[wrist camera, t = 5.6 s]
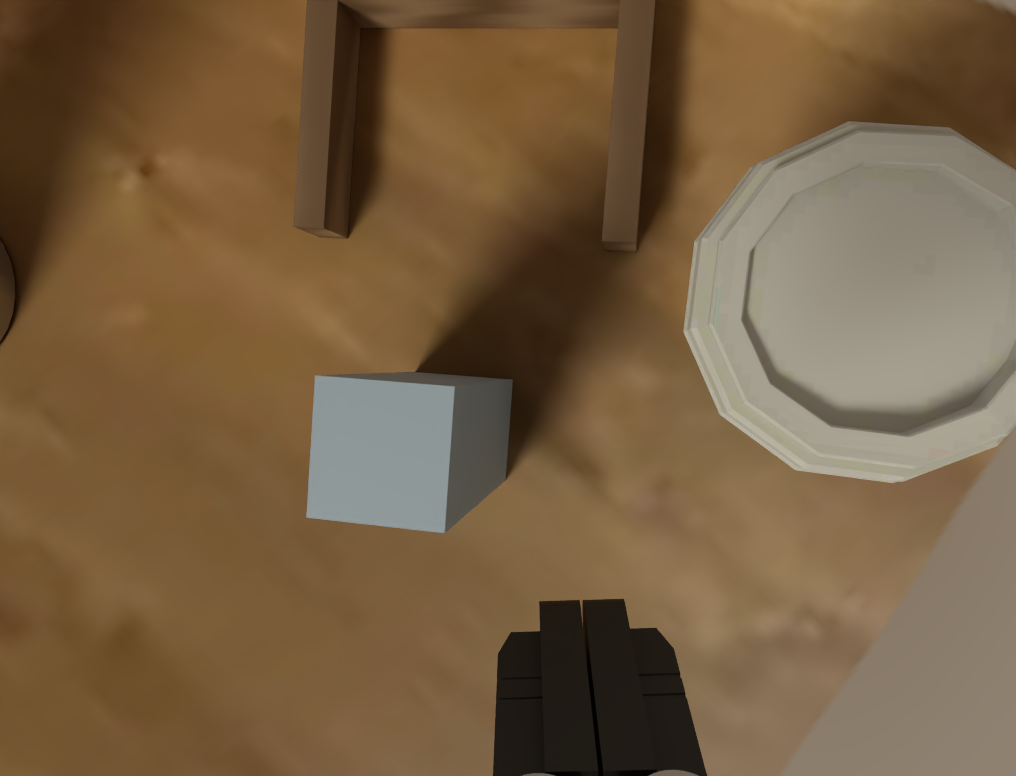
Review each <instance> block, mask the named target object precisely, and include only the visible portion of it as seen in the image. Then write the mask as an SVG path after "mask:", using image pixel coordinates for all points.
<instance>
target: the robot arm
mask: <svg viewBox="0 0 1016 776" xmlns="http://www.w3.org/2000/svg"><path fill="white" fill-rule="evenodd" d="M14 302H15V278H14V273H13V269H12V265H11V261H10V258H9V256H8V254H7V252H6V250H5V247H4V245H3V244H2V242H1V241H0V341H1V340H2V338H3V336H4V334H5V333H6V331H7V329H8V326H9V323H10V320H11V317H12V314H13V309H14ZM539 605H540V631H537V632H511V633H510V635H509V636H508V638H507V640H506V641H505V643H504V645H503V646H502V648H501V650H500V651H499V653H498V667H497V692H496V717H495V742H494V766H493V776H707V774H706V770H705V767H704V763H703V759H702V755H701V751H700V747H699V744H698V740H697V736H696V732H695V728H694V724H693V721H692V717H691V713H690V709H689V705H688V701H687V698H686V696H685V690H684V686H683V682H682V678H680V671H679V667H678V663H677V659H676V656H675V652H674V648H673V647H672V646H671V645H670V644H669V643H668V641H667V640H666V639H665V638H664V637H663V635H662V634H661V633H660V632H659V631H658V630H657V628H638V629H630V627H629V622H628V617H627V611H626V606H625V602H624V599H602V600H583V626H582V616H581V607H580V600H567V601H539Z"/></svg>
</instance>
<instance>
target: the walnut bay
mask: <svg viewBox="0 0 1016 776" xmlns="http://www.w3.org/2000/svg"><path fill="white" fill-rule="evenodd" d="M655 10H656V0H307V11H306V27H305V44H304V61H303V78H302V95H301V112H300V128H299V145H298V162H297V179H296V196H295V213H294V227H296V228H298V229H301V230H303V231H306V232H308V233H311V234H313V235H316V236H318V237H328V238H348V226H349V210H350V194H351V178H352V162H353V146H354V130H355V114H356V98H357V82H358V66H359V50H360V34H361V28H618V35H617V48H616V61H615V74H614V87H613V100H612V113H611V126H610V139H609V152H608V165H607V178H606V192H605V205H604V218H603V231H602V243H603V247H604V250H605V251H619V252H636V251H637V238H638V225H639V213H640V200H641V187H642V175H643V162H644V149H645V137H646V124H647V111H648V99H649V86H650V73H651V61H652V48H653V35H654V23H655Z"/></svg>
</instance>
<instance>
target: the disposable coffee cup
mask: <svg viewBox="0 0 1016 776" xmlns="http://www.w3.org/2000/svg"><path fill="white" fill-rule="evenodd" d="M683 332H684V334H685V336H686V338H687V341H688V343H689V345H690V348H691V350H692V352H693V354H694V357H695V359H696V361H697V364H698V366H699V368H700V370H701V373H702V375H703V377H704V380H705V382H706V384H707V386H708V389H709V391H710V393H711V396H712V398H713V400H714V402H715V405H716V407H717V409H718V412H719V414H720V415H721V416H723V417H724V418H725V419H727V420H728V421H729V422H731V423H732V424H734V425H735V426H736V427H738V428H739V429H740V430H742V431H743V432H744V433H746V434H747V435H749V436H750V437H751V438H753V439H754V440H755V441H757V442H758V443H759V444H761V445H762V446H764V447H765V448H766V449H768V450H769V451H770V452H772V453H773V454H774V455H776V456H777V457H778V458H780V459H781V460H783V461H784V462H785V463H787V464H788V465H789V466H791V467H792V468H793V469H795V470H799V471H806V472H814V473H822V474H829V475H837V476H844V477H852V478H859V479H867V480H875V481H882V482H890V483H894V482H897V481H902V482H903V481H906V480H908V479H911V478H914V477H916V476H919V475H922V474H924V473H927V472H929V471H932V470H935V469H937V468H940V467H943V466H945V465H948V464H951V463H953V462H956V461H958V460H961V459H964V458H966V457H969V456H972V455H974V454H977V453H980V452H982V451H985V450H987V449H990V448H993V447H995V446H998V445H999V444H1000V442H1001V441H1002V440H1003V439H1004V438H1005V436H1007V435H1009V434H1010V432H1011V431H1012V430H1013V429H1014V428H1015V426H1016V169H1014V168H1012V167H1011V166H1009V165H1007V164H1005V163H1004V162H1002V161H1001V160H999V159H998V158H996V157H994V156H993V155H991V154H990V153H988V152H987V151H985V150H984V149H982V148H981V147H979V146H977V145H976V144H974V143H973V142H971V141H970V140H968V139H967V138H965V137H964V136H962V135H961V134H959V133H957V132H956V131H954V130H953V129H951V128H950V127H934V126H918V125H902V124H885V123H869V122H853V121H848V122H846V123H844V124H842V125H840V126H837V127H835V128H833V129H831V130H829V131H826V132H824V133H822V134H820V135H818V136H815V137H813V138H811V139H809V140H807V141H804V142H802V143H800V144H798V145H796V146H794V147H791V148H789V149H787V150H785V151H783V152H780V153H778V154H776V155H774V156H772V157H769V158H767V159H765V160H763V161H761V162H759V163H758V164H756V165H754V166H751V167H750V169H749V170H748V171H747V173H746V174H745V175H744V177H743V178H742V179H741V181H740V182H739V183H738V185H737V186H736V187H735V189H734V190H733V191H732V193H731V194H730V195H729V197H728V198H727V199H726V201H725V202H724V203H723V204H722V206H721V207H720V208H719V210H718V211H717V212H716V214H715V215H714V216H713V218H712V219H711V220H710V222H709V223H708V224H707V226H706V227H705V228H704V230H703V231H702V232H701V234H700V235H699V236H698V238H697V239H696V240H695V242H694V250H693V258H692V266H691V274H690V282H689V290H688V298H687V307H686V315H685V323H684V331H683Z"/></svg>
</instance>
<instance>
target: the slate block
mask: <svg viewBox="0 0 1016 776" xmlns="http://www.w3.org/2000/svg"><path fill="white" fill-rule="evenodd" d="M512 386H513V380H512V379H499V378H486V377H473V376H460V375H447V374H434V373H421V372H401V373H371V374H341V375H315V387H314V403H313V420H312V436H311V452H310V469H309V485H308V502H307V518H316V519H325V520H333V521H342V522H351V523H360V524H369V525H377V526H386V527H395V528H404V529H413V530H422V531H430V532H439V533H445V532H446V531H448V530H449V529H450V528H451V527H452V526H453V525H455V524H456V523H457V522H458V521H459V520H460V519H461V518H463V517H464V516H465V515H466V514H467V513H468V512H470V511H471V510H472V509H473V508H474V507H475V506H477V505H478V504H479V503H480V502H481V501H482V500H483V499H485V498H486V497H487V496H488V495H489V494H490V493H492V492H493V491H494V490H495V489H496V488H497V487H498V486H500V485H501V484H502V483H503V482H504V481H505V480H506V469H507V455H508V441H509V427H510V413H511V400H512Z"/></svg>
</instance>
